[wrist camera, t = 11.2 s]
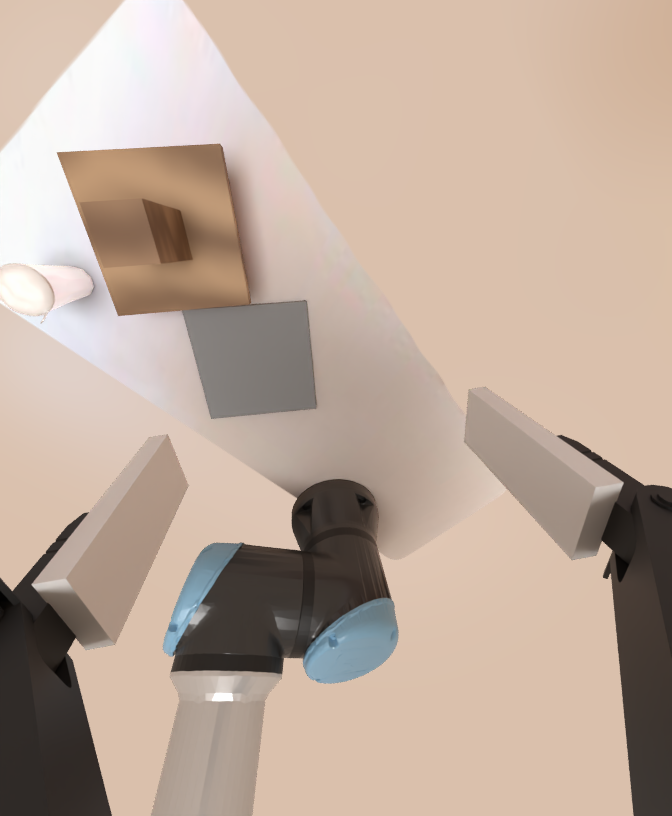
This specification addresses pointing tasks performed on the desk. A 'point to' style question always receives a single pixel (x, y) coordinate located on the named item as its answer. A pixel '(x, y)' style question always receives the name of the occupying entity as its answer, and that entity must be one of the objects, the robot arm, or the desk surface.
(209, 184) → the lid
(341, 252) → the desk surface
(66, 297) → the milkshake
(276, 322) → the mat
